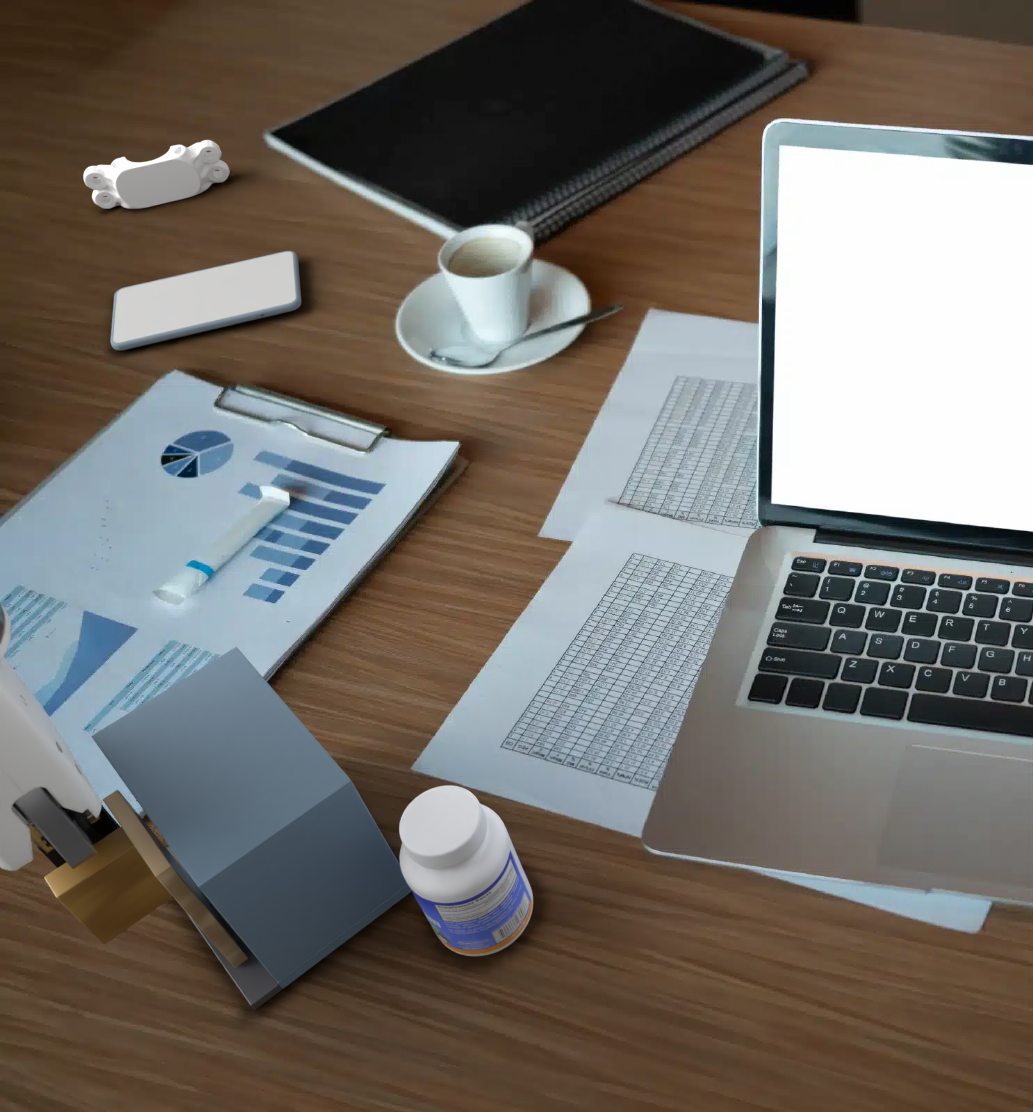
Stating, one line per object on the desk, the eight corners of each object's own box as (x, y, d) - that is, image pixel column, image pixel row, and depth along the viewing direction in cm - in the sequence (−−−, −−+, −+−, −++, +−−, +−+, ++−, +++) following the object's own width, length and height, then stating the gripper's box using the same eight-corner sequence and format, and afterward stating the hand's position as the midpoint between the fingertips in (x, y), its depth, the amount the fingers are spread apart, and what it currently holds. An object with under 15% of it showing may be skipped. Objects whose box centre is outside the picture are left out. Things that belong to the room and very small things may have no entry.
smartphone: (113, 288, 110) (295, 247, 112) (118, 297, 111) (299, 257, 113) (108, 347, 104) (299, 302, 107) (114, 356, 105) (303, 312, 108)
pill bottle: (430, 884, 72) (377, 789, 65) (527, 855, 73) (485, 758, 66) (441, 974, 69) (386, 883, 61) (543, 941, 70) (501, 848, 62)
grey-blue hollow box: (254, 1010, 68) (165, 910, 59) (153, 864, 74) (59, 755, 66) (414, 889, 72) (351, 780, 64) (306, 761, 78) (236, 646, 70)
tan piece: (162, 1022, 67) (71, 933, 59) (113, 944, 70) (20, 851, 62) (249, 958, 69) (171, 865, 61) (197, 885, 72) (117, 788, 64)
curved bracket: (98, 219, 119) (78, 180, 116) (97, 205, 120) (78, 167, 118) (234, 186, 122) (218, 148, 119) (232, 173, 123) (215, 135, 120)
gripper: (-250, 594, 57) (-26, 816, 70) (-136, 802, 49) (90, 1005, 63) (-73, 504, 60) (108, 732, 74) (59, 685, 53) (233, 902, 66)
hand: (99, 857), depth 68 cm, fingers closed
